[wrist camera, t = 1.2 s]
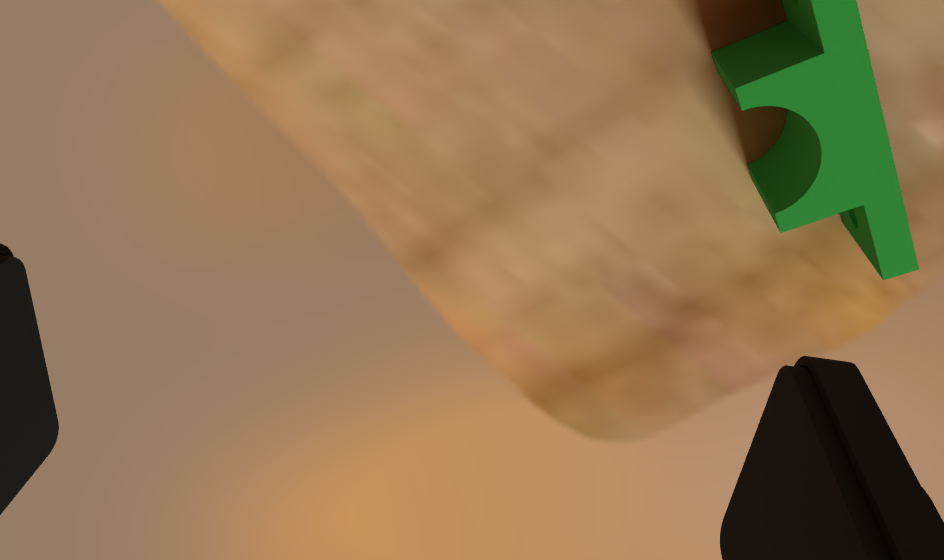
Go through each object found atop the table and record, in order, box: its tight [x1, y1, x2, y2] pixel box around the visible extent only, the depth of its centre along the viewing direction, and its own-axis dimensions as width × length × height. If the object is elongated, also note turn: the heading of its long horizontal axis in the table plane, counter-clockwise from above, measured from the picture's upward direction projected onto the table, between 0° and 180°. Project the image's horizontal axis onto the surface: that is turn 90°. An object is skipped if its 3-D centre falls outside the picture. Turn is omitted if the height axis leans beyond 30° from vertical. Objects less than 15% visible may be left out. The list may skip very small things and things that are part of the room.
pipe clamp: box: [711, 0, 919, 280], centre depth 26 cm, size 11×4×5 cm, turn 25°
